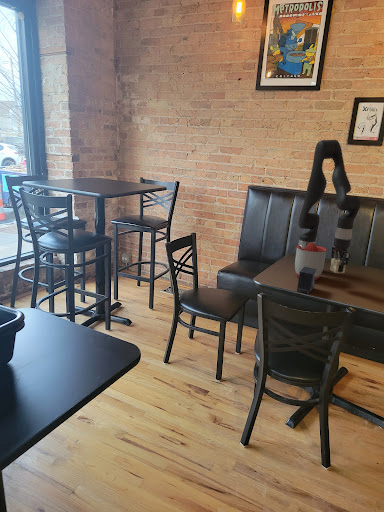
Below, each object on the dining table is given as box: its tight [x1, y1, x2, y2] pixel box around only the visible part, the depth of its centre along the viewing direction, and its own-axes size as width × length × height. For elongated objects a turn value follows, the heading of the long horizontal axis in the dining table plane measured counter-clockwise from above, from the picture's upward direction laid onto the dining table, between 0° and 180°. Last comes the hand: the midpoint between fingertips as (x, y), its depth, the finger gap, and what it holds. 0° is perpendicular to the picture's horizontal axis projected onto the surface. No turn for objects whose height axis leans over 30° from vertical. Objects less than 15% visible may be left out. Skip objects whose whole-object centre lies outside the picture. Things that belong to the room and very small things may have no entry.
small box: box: [296, 267, 317, 295], centre depth 176 cm, size 11×6×10 cm, turn 150°
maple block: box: [329, 258, 347, 274], centre depth 178 cm, size 5×5×6 cm
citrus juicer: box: [294, 242, 327, 281], centre depth 195 cm, size 16×17×20 cm
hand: (337, 270), depth 179 cm, fingers closed on maple block, 5 cm apart
